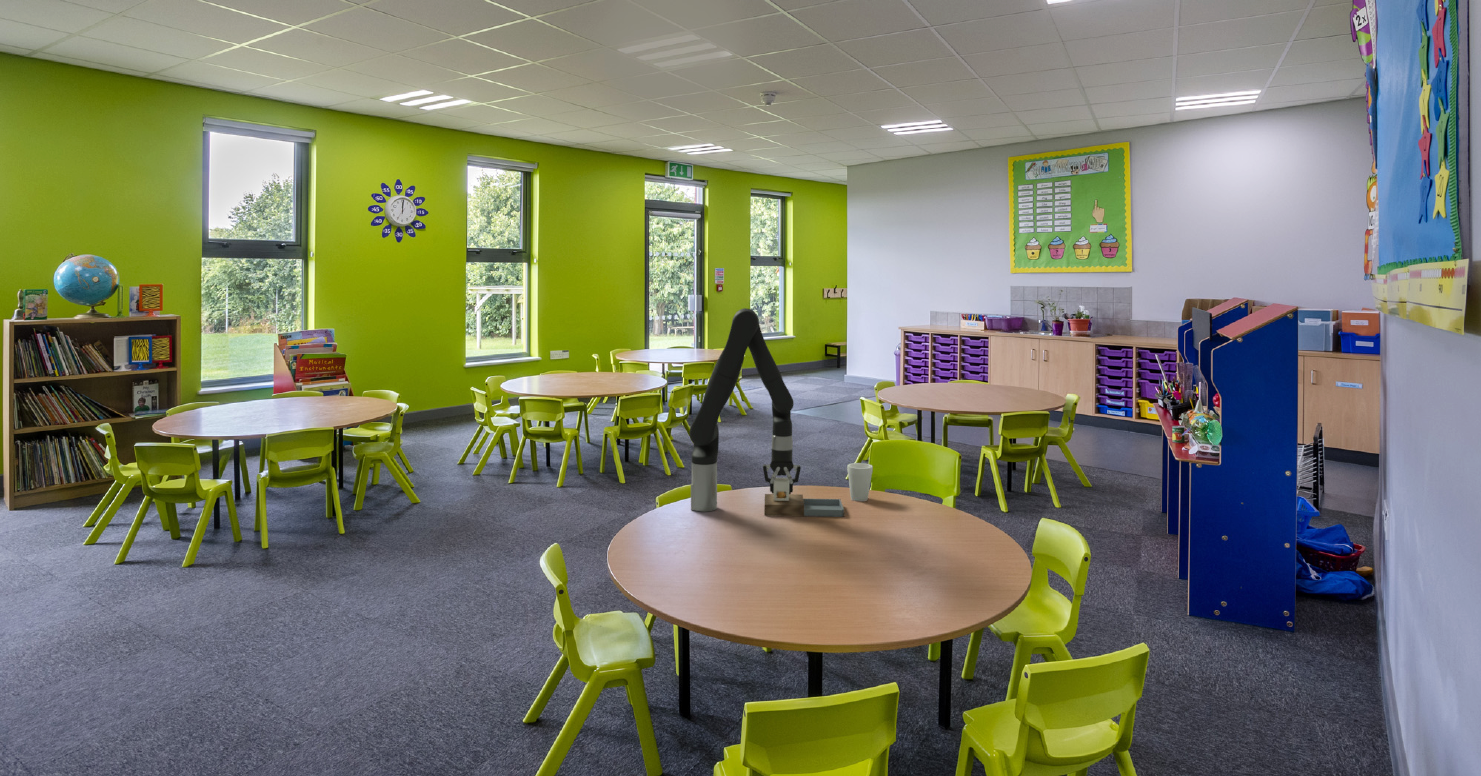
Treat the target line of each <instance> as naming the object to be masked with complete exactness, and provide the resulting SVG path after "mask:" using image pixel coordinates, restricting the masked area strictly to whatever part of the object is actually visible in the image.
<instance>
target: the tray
mask: <svg viewBox="0 0 1481 776" xmlns="http://www.w3.org/2000/svg"><path fill="white" fill-rule="evenodd" d="M803 500H804V516H803V517H820V518H821V517H824V518H825V517H827V518H828V517H830V518H833V517H835V518H839V517H840V518H843V517H845V508H844V505H843V502H842V500H841V498H803Z"/></svg>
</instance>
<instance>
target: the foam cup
mask: <svg viewBox="0 0 1481 776" xmlns="http://www.w3.org/2000/svg"><path fill="white" fill-rule="evenodd" d="M846 467H847V468H846V470H847V471H846V472H847V475H848V485H849V494H850V495H849V496H850V499H851V501H855V502H867V501H868V499H869V493H870V486H871V482H872V481H871V480H872V474H873V467H874V466H873V465H872V464H869V463H864V462H853V463H848V464H847V466H846Z"/></svg>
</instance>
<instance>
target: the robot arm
mask: <svg viewBox="0 0 1481 776" xmlns="http://www.w3.org/2000/svg"><path fill="white" fill-rule="evenodd" d="M747 349H748V350H749V352H750V354H751V356H752V360H753V363H754V366H755V368H756V371H757V373H758V375H759V377H760V380H761V383H762V384H763V386H764V388H765V389H766V390H767V392H768V395H769V397H770V399H771V412H772V435H771V436H772V438H771V456H770V457H771V461H770V463H769V464H766V463H765V464H763V465H762V471H763V476H764V481H765V482H766V483H769V492H770V493H771V494H774V480H775V478H777V476H785V477H786V478H788V480H789V494H792V493H793V491H794V484H795V483H798V482H799V479H800V474H801V467H802V466H801V465H799V464H798V465H797V464H794V463H793V449H794V448H793V446H794V445H793V444H794V443H793V441H794V440H793V421H792V418H791V416H792V415H791V412H792V409H793V408H794V403H795V402H794V399H793V397H792V395H791V393H790V390H789V389H788V388H787V386H786V384H785V382H784V380H783V379H784V378H783V376H782V375H781V372H780V370H779V368H778V365H777V363H776V362H775V359H774V357H773V356H772V353H771V351H770V350H769V347H768V345H767V344H766V341H765V337H764V336H763V333H762V329H761V325H760V320H759V316H758V314H757V313H756V311H754V310H753V309H751V308H745V307H744V308H741V309H739V310H737V311H736V313H735V314H734V316H733V317H732V321H731V326H730V330H729V333H728V338H727V340H726V343H725V346H724V348H723V350H722V351H721V353H720V355H719V357H718V359H717V361H716V363H715V365H714V367H713V370H712V373H711V375H710V377H709V381H708V384H707V387H706V390H705V392H704V395H703V400H702V403H701V405H700V408H699V411H697V414H696V416H695V418H694V420H693V422H692V424H691V426H690V427H689V428H690V429H689V438H690V440H691V441H692V443H693V449H692V452H691V484H690V510H691V511H697V512H703V513H704V512H712V511H715V510H717V509H718V454H719V440H720V437H719V436H720V435H719V434H720V432H719V431H720V430H719V426H718V421H719V418H720V415H721V412H722V411H723V409H724V408H725V406H726V404H727V403H728V401H729V399H730V397H731V396H732V394H733V391H734V389H735V388H736V384H737V381H738V379H739V377H740V374H741V370H742V367H743V363H744V358H745V355H746V351H747ZM770 469H771V470H772V472H773V473H772V475H771V476H770V477H769V474H768V473H769V472H768V471H769V470H770ZM793 469H794V472H795V475H794V478H792V477H793V476H792V475H791V472H792V470H793Z"/></svg>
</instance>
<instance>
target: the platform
mask: <svg viewBox="0 0 1481 776" xmlns="http://www.w3.org/2000/svg"><path fill="white" fill-rule="evenodd" d="M776 498H778V497H776ZM785 498H786V497H785ZM803 499H804V495H803V494H797V493H795V494H792V493H791V494H789V501H774V500H773V494H772V493H764V515H763V516H769V517H771V516H772V517H775V516H777V517H778V516H779V517H805V516H804V500H803Z"/></svg>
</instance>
